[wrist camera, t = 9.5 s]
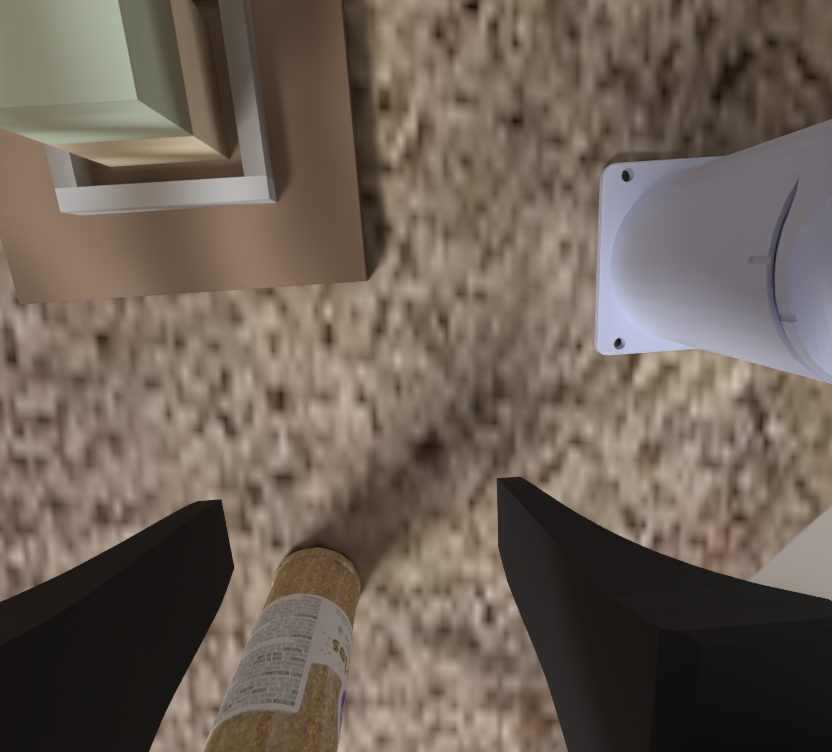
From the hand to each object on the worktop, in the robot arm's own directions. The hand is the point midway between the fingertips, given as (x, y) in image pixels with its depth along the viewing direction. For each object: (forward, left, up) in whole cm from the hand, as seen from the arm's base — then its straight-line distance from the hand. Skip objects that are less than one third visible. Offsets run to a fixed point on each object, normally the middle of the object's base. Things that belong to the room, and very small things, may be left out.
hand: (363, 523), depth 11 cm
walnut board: (+7, -13, -9) cm, 18 cm away
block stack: (+7, -13, -8) cm, 17 cm away
